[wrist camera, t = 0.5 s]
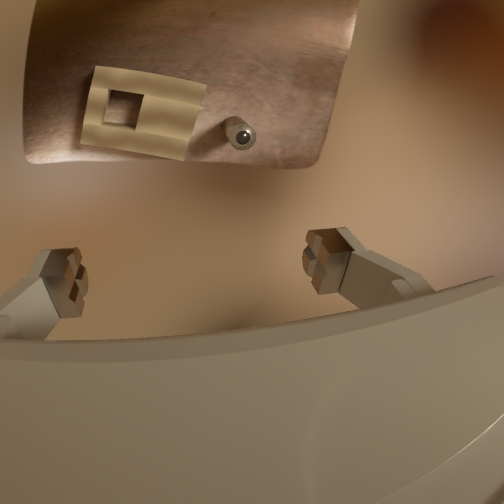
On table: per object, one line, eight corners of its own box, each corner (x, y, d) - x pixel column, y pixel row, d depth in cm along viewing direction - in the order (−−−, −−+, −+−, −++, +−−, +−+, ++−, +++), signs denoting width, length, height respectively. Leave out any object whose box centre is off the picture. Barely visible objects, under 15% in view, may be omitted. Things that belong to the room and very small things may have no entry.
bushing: (226, 113, 46) (234, 121, 40) (248, 119, 47) (259, 129, 41) (219, 134, 48) (226, 146, 41) (240, 140, 49) (251, 153, 43)
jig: (101, 65, 35) (95, 65, 33) (205, 84, 42) (207, 85, 39) (85, 138, 42) (79, 143, 39) (183, 155, 48) (183, 161, 46)
